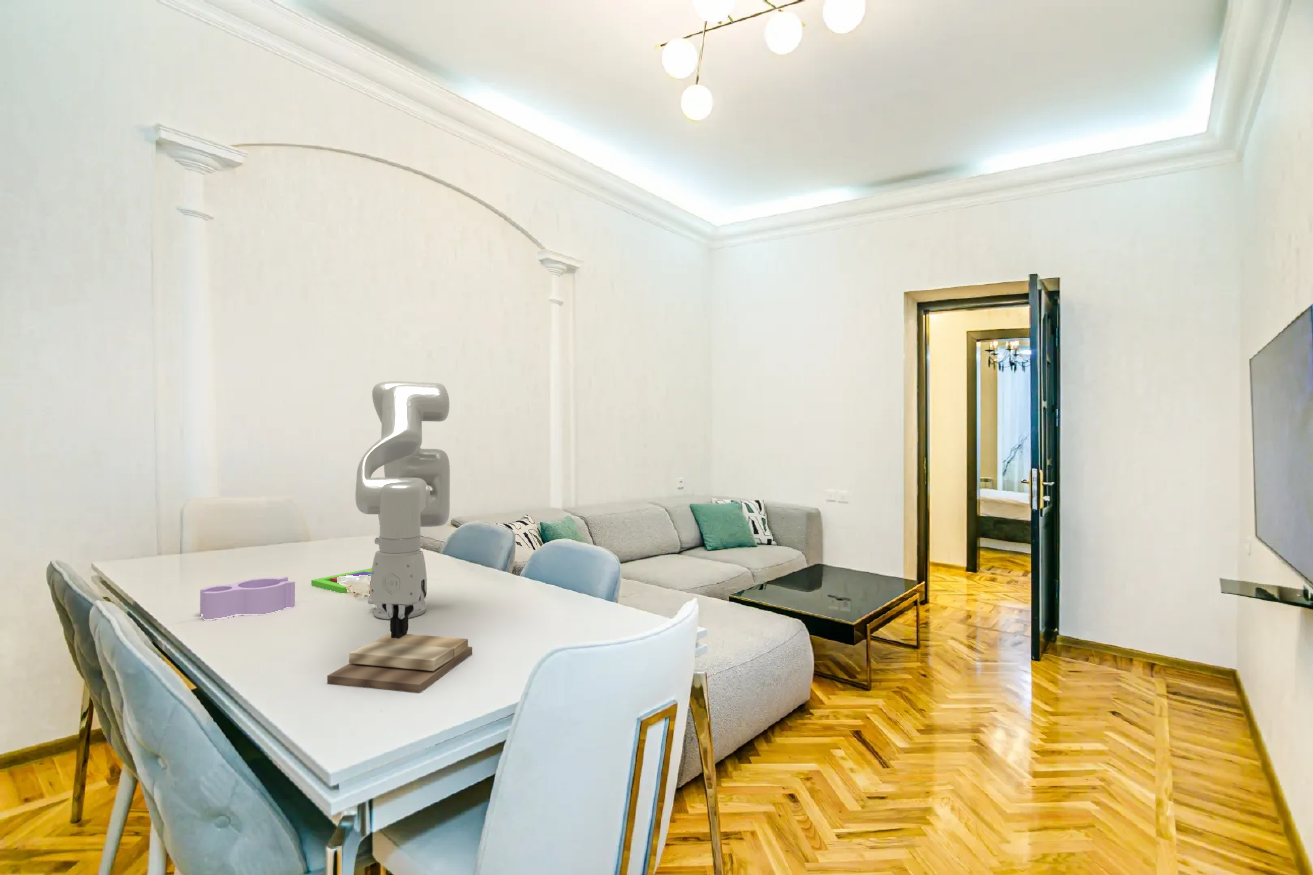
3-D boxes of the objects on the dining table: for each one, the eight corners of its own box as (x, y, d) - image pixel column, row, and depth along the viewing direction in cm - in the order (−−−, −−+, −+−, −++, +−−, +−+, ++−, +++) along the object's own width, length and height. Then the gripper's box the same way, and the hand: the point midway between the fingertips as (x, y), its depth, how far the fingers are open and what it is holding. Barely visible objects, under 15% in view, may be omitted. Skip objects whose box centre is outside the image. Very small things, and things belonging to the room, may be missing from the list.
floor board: (327, 683, 124) (327, 665, 124) (391, 646, 144) (391, 631, 144) (419, 692, 120) (419, 673, 120) (472, 653, 141) (472, 637, 141)
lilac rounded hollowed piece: (206, 625, 158) (206, 596, 158) (196, 613, 167) (196, 586, 167) (298, 609, 172) (298, 583, 172) (284, 600, 181) (284, 575, 181)
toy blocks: (311, 587, 196) (362, 600, 183) (311, 580, 196) (362, 592, 183) (378, 573, 215) (429, 584, 202) (379, 566, 215) (429, 577, 202)
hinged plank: (348, 663, 129) (349, 652, 129) (373, 651, 137) (373, 641, 137) (433, 670, 126) (433, 660, 126) (453, 658, 134) (453, 648, 134)
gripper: (354, 546, 128) (353, 639, 129) (424, 551, 125) (423, 646, 126) (377, 539, 135) (376, 626, 136) (444, 543, 132) (443, 633, 133)
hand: (399, 636), depth 131 cm, fingers closed
